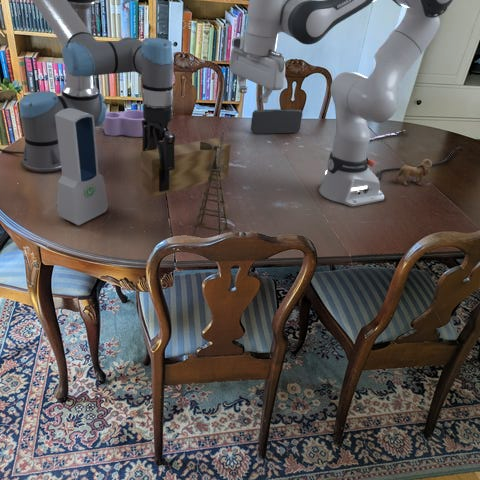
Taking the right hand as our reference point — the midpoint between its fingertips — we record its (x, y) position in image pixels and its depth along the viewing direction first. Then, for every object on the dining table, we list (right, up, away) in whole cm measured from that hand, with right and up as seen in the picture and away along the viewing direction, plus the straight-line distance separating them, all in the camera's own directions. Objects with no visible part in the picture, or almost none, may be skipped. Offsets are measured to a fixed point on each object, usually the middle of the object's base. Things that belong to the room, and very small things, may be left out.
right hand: (252, 97), depth 133 cm
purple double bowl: (-49, +4, +59) cm, 77 cm away
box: (-19, -24, +5) cm, 31 cm away
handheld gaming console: (+12, +7, +74) cm, 75 cm away
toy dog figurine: (+60, -19, +42) cm, 75 cm away
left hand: (-27, -25, -1) cm, 37 cm away
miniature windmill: (-12, -39, -1) cm, 41 cm away
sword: (+64, +6, +82) cm, 104 cm away
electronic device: (-49, -34, +1) cm, 59 cm away
